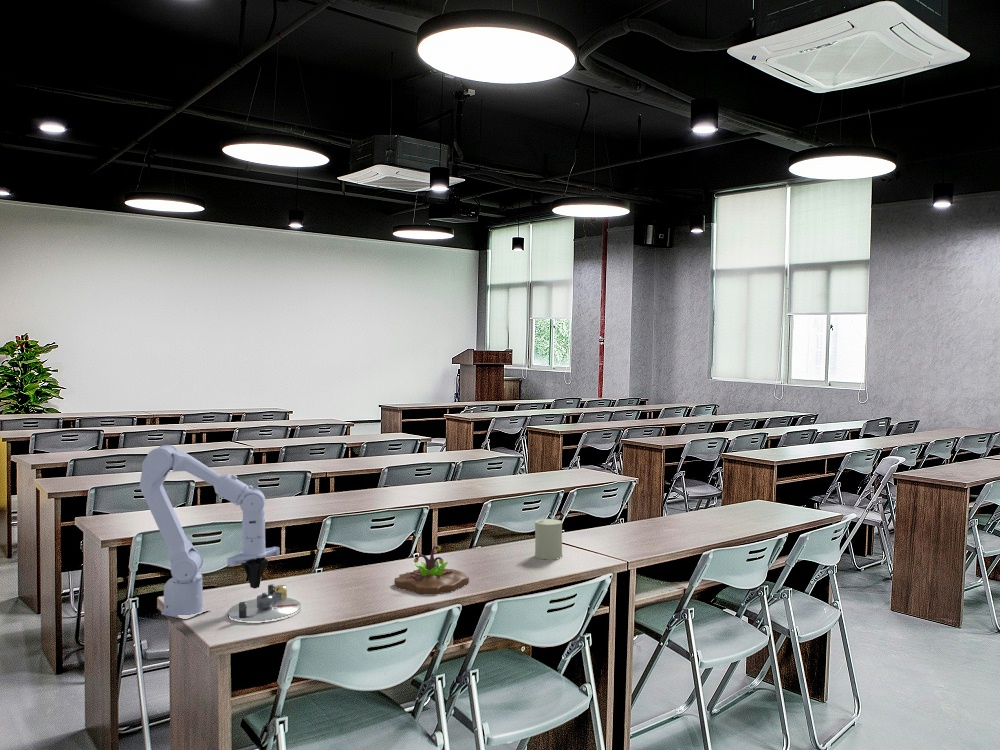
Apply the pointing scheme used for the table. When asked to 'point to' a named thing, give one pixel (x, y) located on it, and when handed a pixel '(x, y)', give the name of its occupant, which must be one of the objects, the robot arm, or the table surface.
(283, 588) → the crank
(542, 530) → the can
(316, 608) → the table surface
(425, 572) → the plant
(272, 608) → the crank base
